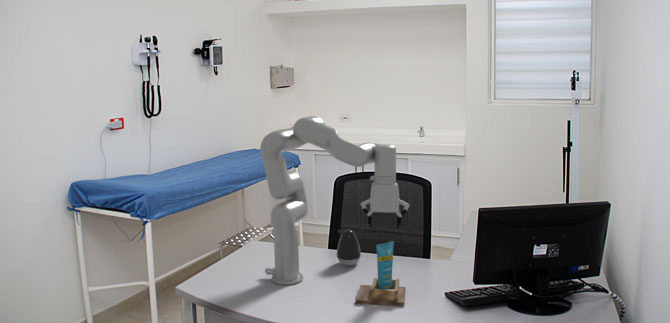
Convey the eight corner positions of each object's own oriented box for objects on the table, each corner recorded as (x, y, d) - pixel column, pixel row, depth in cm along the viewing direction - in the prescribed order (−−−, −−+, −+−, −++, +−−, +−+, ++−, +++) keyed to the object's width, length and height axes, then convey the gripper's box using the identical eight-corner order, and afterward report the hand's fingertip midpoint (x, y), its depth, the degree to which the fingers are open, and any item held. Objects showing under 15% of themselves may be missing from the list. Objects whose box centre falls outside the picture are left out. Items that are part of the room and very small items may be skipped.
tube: (381, 297, 199) (381, 246, 195) (372, 293, 203) (372, 243, 199) (397, 292, 203) (397, 242, 200) (388, 288, 207) (388, 239, 204)
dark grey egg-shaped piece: (345, 258, 245) (344, 225, 242) (365, 262, 239) (365, 228, 236) (331, 265, 237) (331, 230, 234) (352, 270, 231) (351, 234, 228)
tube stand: (356, 303, 198) (356, 290, 197) (360, 288, 211) (360, 276, 210) (404, 306, 195) (404, 292, 194) (405, 290, 208) (405, 277, 208)
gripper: (359, 181, 193) (359, 228, 196) (409, 182, 190) (408, 230, 193) (361, 177, 200) (361, 222, 203) (410, 178, 198) (409, 224, 201)
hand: (384, 226), depth 198 cm, fingers open, 9 cm apart
